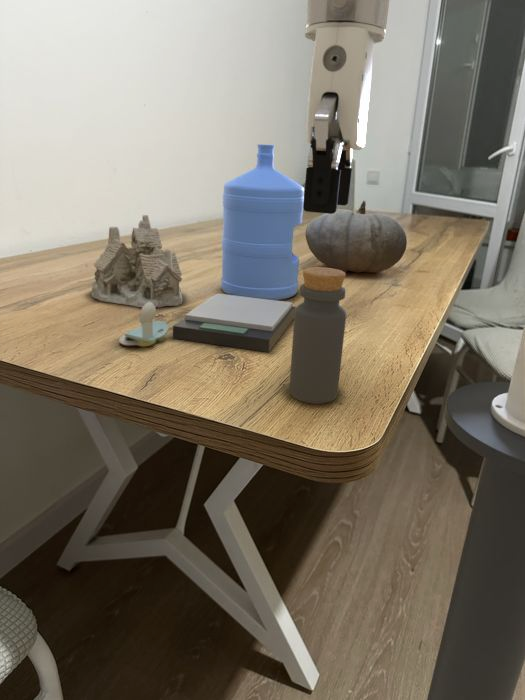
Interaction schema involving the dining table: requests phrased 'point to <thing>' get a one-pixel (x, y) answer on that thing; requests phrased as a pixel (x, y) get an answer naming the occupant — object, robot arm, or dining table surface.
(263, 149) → the water jug
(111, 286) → the ceramic cottage
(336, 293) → the bottle
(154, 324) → the pacifier
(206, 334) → the scale
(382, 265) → the gourd
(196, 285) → the dining table surface
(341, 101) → the robot arm
